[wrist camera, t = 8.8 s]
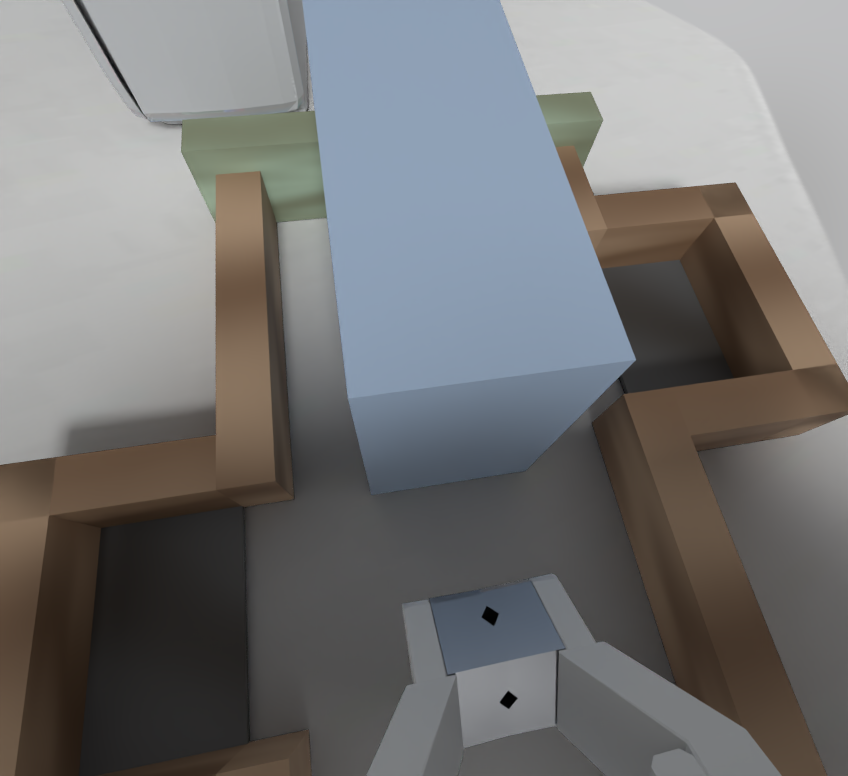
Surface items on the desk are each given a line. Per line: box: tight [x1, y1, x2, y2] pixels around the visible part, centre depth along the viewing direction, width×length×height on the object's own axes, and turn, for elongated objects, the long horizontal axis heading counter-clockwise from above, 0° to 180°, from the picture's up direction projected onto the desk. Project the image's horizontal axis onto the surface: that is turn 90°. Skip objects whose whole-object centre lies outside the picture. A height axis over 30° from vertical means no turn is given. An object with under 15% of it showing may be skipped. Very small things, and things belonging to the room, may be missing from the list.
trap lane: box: [0, 92, 848, 776], centre depth 14 cm, size 26×24×4 cm
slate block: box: [302, 0, 636, 495], centre depth 14 cm, size 11×5×8 cm, turn 10°
